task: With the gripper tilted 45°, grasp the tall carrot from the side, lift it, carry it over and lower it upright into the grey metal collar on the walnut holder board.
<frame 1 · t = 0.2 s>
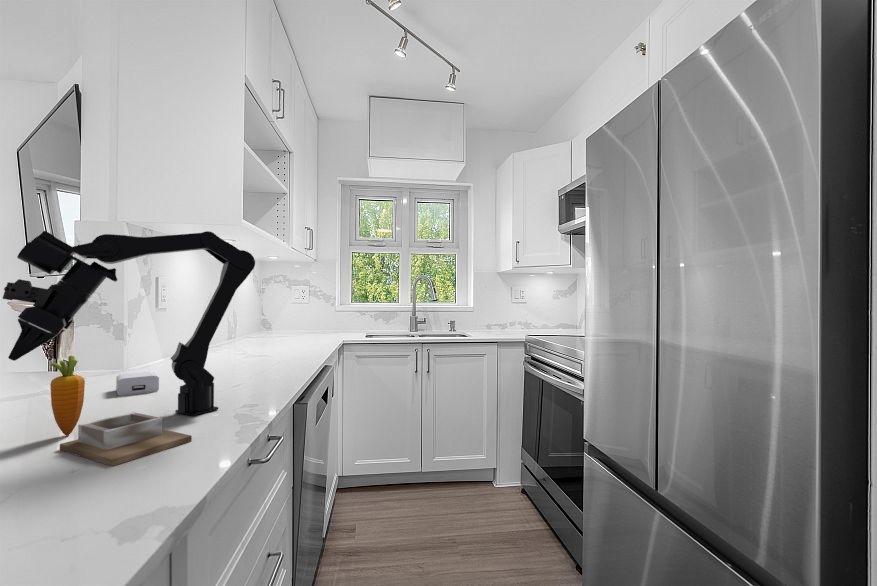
hand: (16, 356, 81), 15 cm above the worktop, tool tilted 35°, fingers open, 9 cm apart
charger: (136, 390, 123), on the worktop
holder: (121, 443, 77), on the worktop
carrot: (67, 436, 82), on the worktop
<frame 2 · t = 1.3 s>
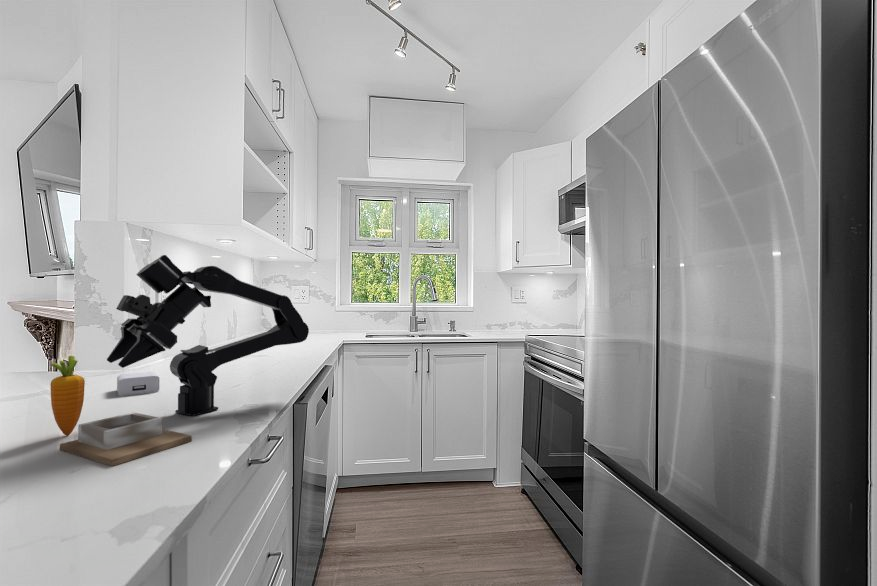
hand: (114, 363, 87), 13 cm above the worktop, tool tilted 45°, fingers open, 9 cm apart
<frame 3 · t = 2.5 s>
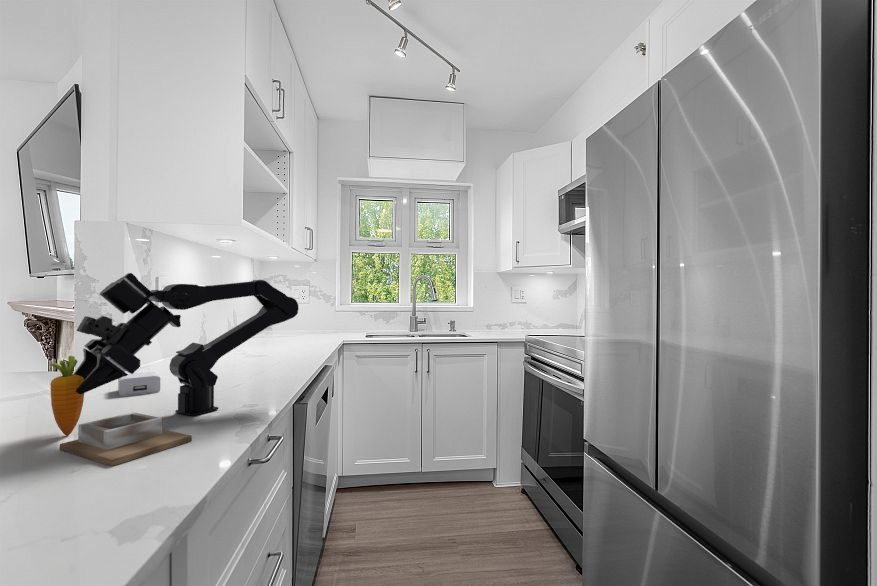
hand: (72, 389, 82), 9 cm above the worktop, tool tilted 45°, fingers open, 9 cm apart
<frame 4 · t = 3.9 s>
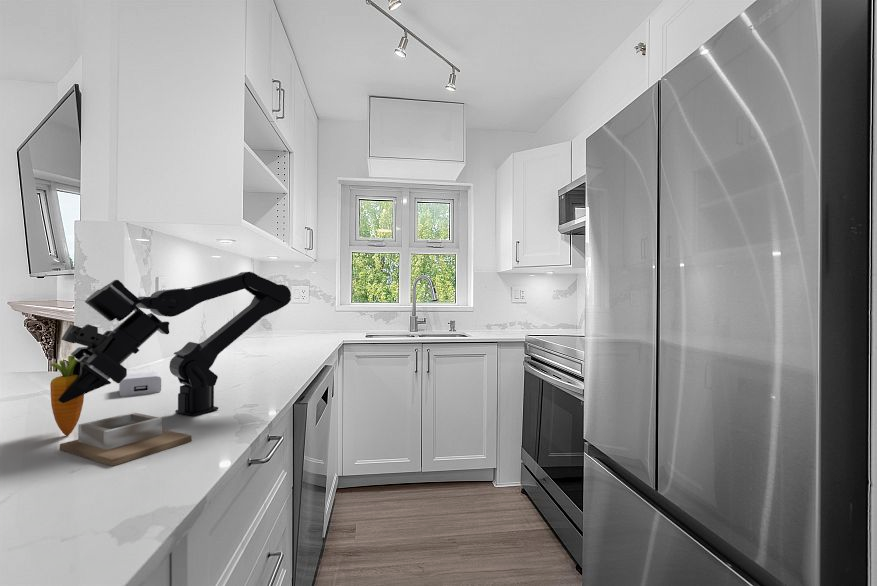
hand: (58, 399, 81), 7 cm above the worktop, tool tilted 45°, fingers closed on carrot, 5 cm apart
carrot: (67, 436, 82), on the worktop, touching gripper
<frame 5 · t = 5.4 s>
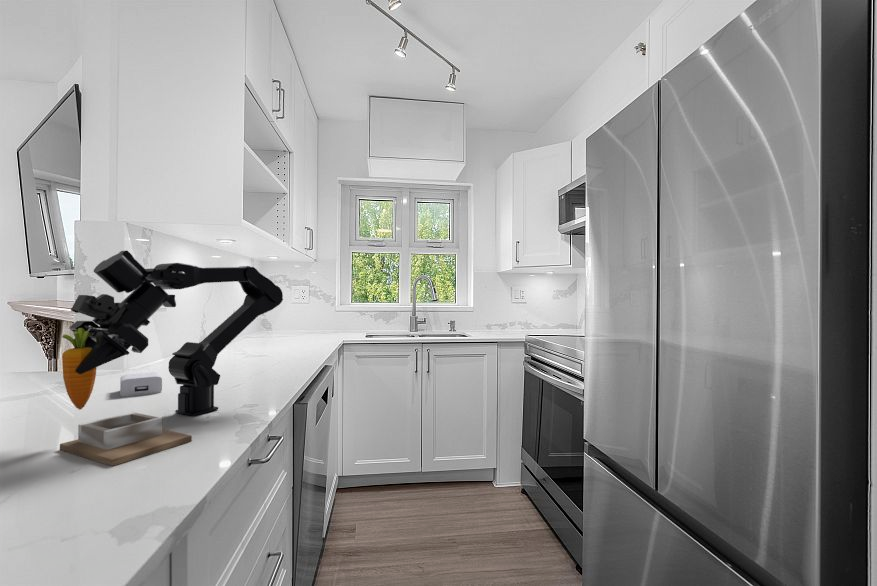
hand: (70, 371, 78), 13 cm above the worktop, tool tilted 45°, fingers closed on carrot, 5 cm apart
carrot: (80, 410, 79), point 5 cm above the worktop, touching gripper
when the fingers open (9 cm above the worktop, at t = 7.4 s): carrot stays where it is, resting on holder.
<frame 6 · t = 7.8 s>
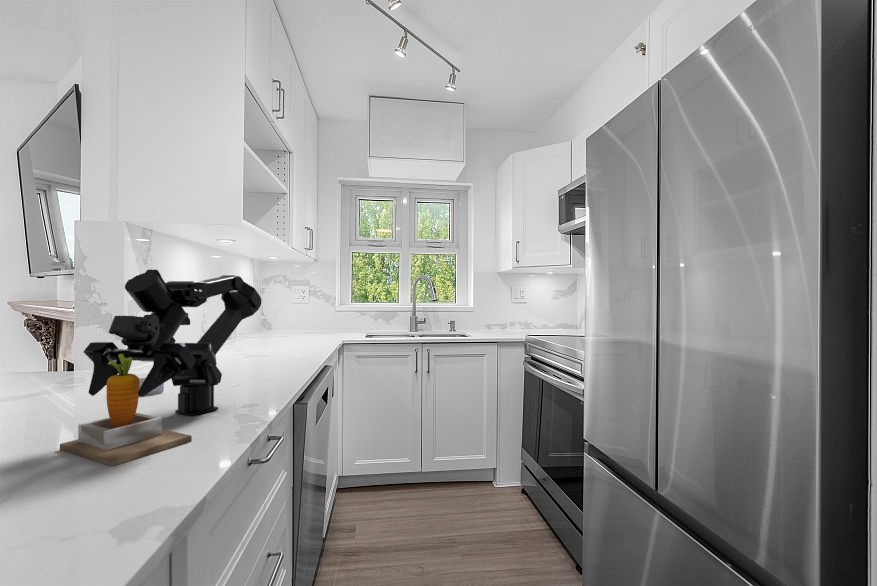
hand: (115, 394, 76), 9 cm above the worktop, tool tilted 45°, fingers open, 9 cm apart
carrot: (121, 438, 78), point 1 cm above the worktop, touching holder
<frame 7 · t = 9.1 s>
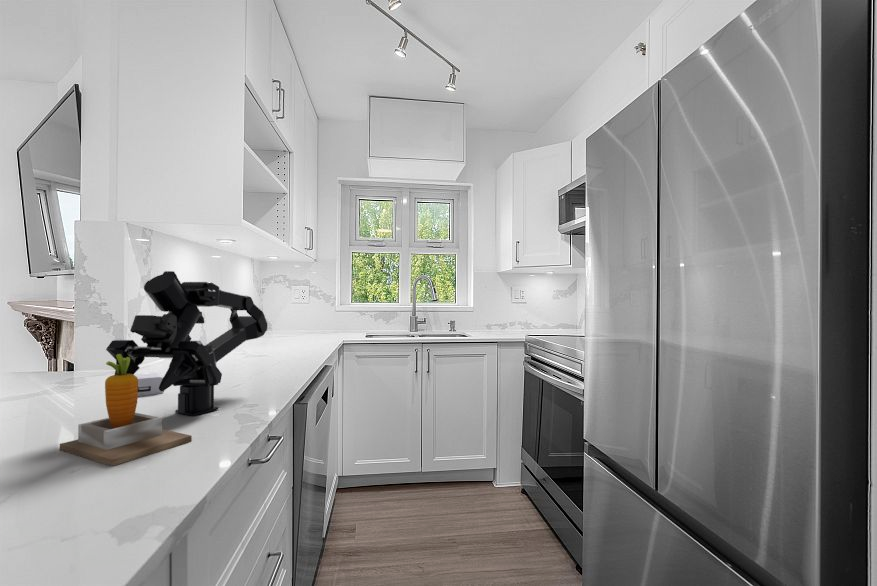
hand: (137, 389, 81), 9 cm above the worktop, tool tilted 45°, fingers open, 9 cm apart
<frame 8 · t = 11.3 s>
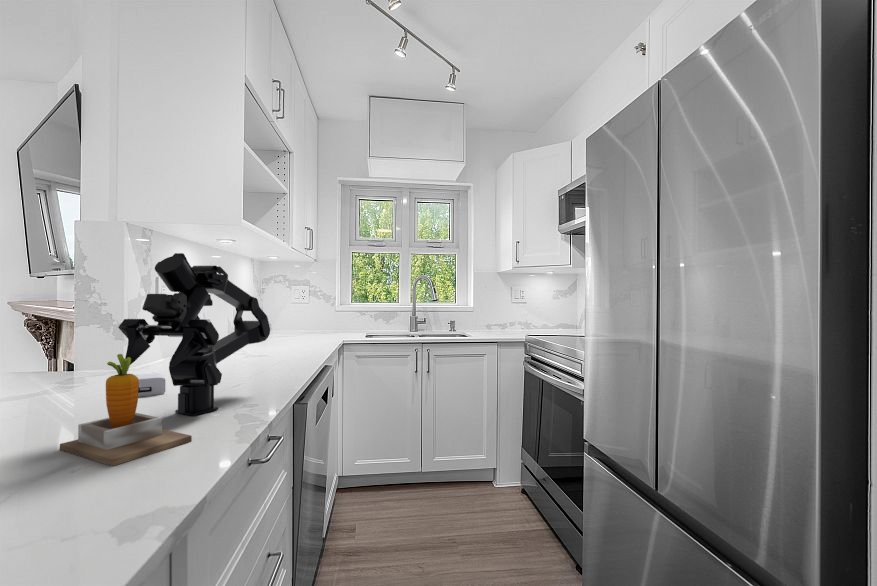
hand: (148, 364, 84), 13 cm above the worktop, tool tilted 45°, fingers open, 9 cm apart
at the end: carrot 0.1 cm from the holder (horizontally); carrot tilted 1°; the gripper is holding nothing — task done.
